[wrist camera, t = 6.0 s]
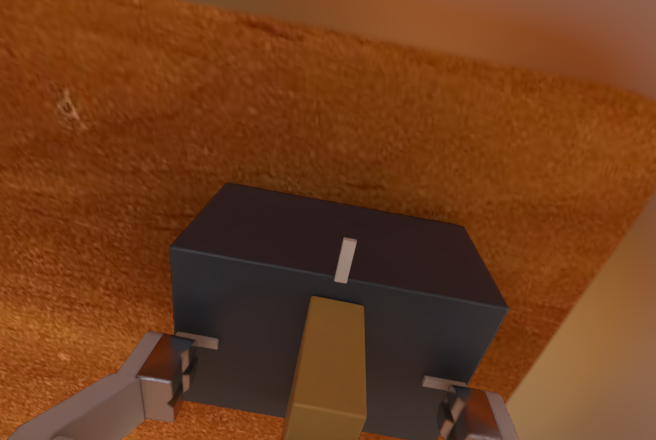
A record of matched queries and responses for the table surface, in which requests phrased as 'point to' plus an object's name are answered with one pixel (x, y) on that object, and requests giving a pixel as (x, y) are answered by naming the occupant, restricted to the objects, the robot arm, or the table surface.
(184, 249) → the plate
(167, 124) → the table surface
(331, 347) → the lock knob
